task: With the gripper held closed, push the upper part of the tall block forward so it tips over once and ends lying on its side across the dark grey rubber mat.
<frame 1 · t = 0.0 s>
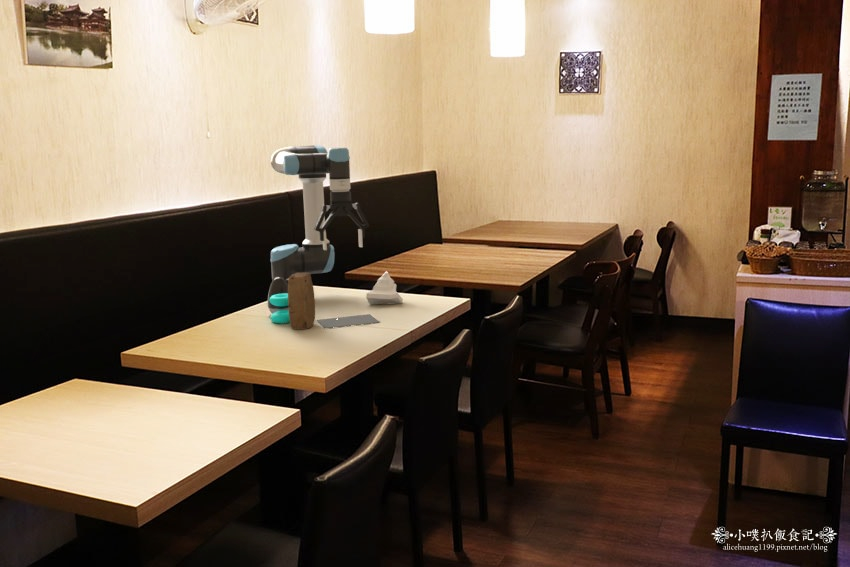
hand: (343, 248, 292), 28 cm above the table, tool pointing down, fingers open, 13 cm apart
soft serve ice cream: (384, 304, 328), on the table
block: (303, 327, 292), on the table
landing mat: (348, 321, 298), on the table
donuts: (284, 321, 302), on the table
pump dispenser: (281, 315, 312), on the table
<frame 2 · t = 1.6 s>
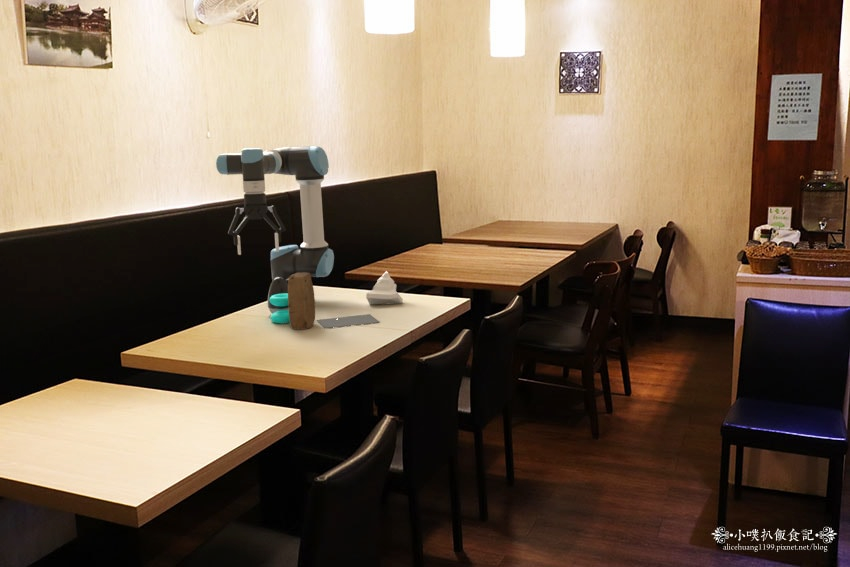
hand: (258, 252, 282), 29 cm above the table, tool pointing down, fingers open, 13 cm apart
nothing on the table moved.
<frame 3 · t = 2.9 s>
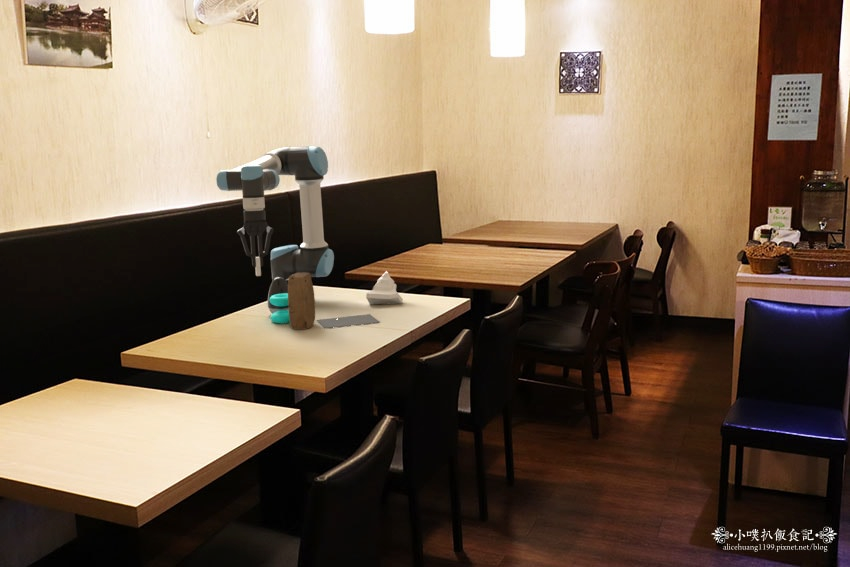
hand: (258, 275, 283), 21 cm above the table, tool pointing down, fingers closed
nothing on the table moved.
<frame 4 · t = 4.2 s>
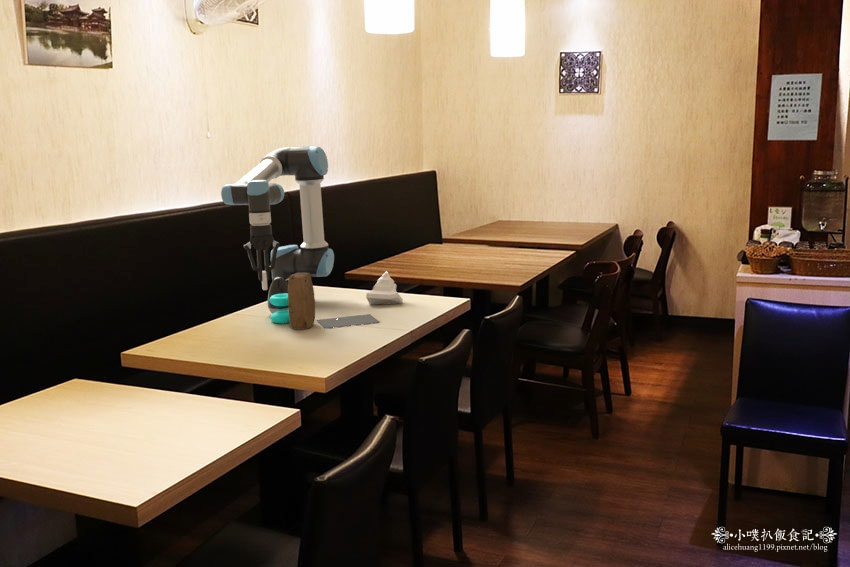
hand: (264, 289, 285), 15 cm above the table, tool pointing down, fingers closed
nothing on the table moved.
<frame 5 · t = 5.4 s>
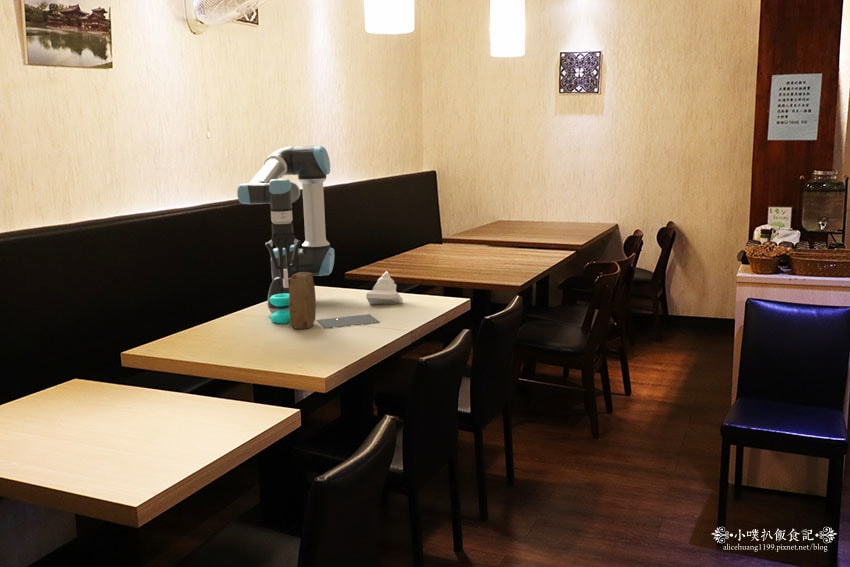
hand: (286, 287, 287), 15 cm above the table, tool pointing down, fingers closed
block: (303, 326, 292), on the table, touching gripper
everything else where it was.
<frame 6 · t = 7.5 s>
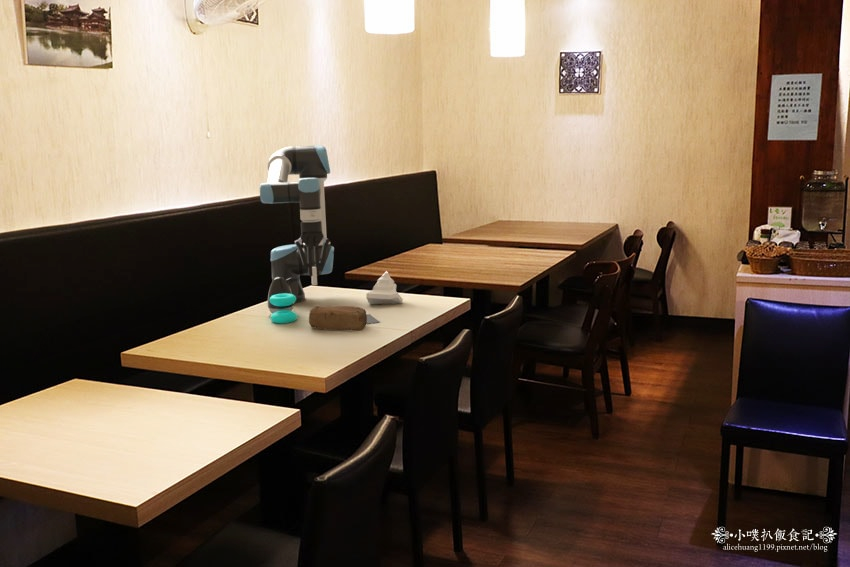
hand: (314, 284, 291), 15 cm above the table, tool pointing down, fingers closed
block: (311, 315, 290), point 4 cm above the table, touching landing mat
everything else where it was.
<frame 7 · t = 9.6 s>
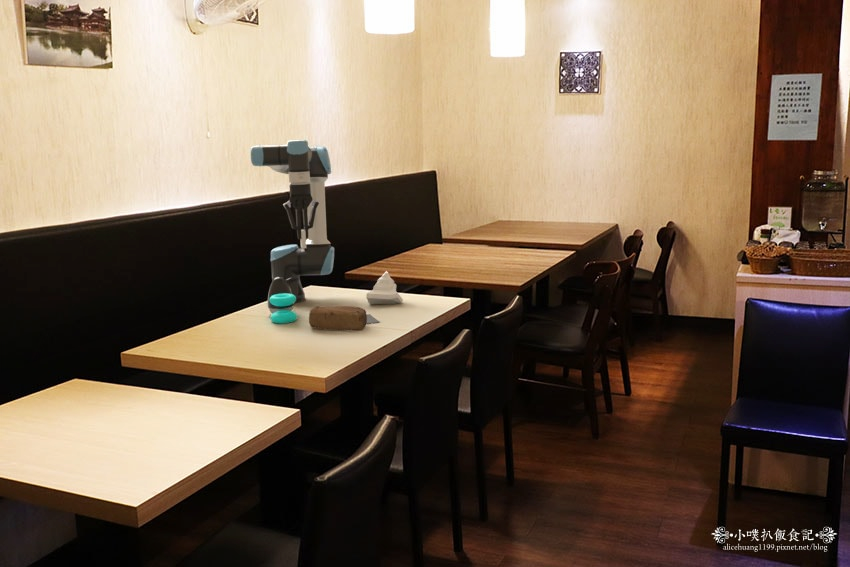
hand: (303, 247, 291), 29 cm above the table, tool pointing down, fingers closed
nothing on the table moved.
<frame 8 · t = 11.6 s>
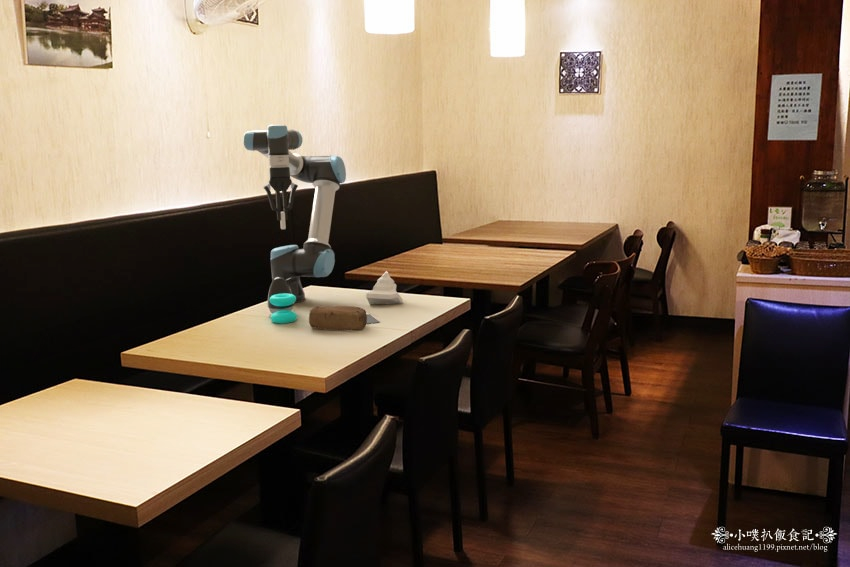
hand: (283, 228, 302), 34 cm above the table, tool pointing down, fingers closed
nothing on the table moved.
at the end: block tilted 92°; block inside the target area (5.3 cm from its centre), point 4.3 cm above the table; block touching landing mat, table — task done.
